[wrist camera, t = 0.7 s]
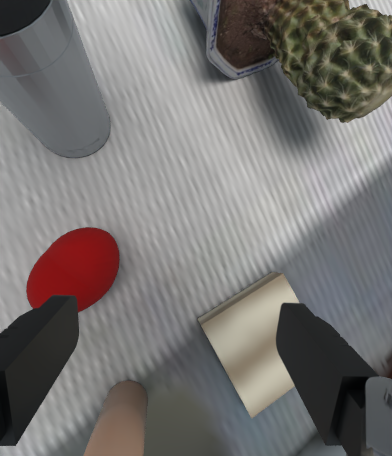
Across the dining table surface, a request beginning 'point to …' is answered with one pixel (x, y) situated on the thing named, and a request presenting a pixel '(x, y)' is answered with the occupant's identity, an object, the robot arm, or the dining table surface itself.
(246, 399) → the base slab
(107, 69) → the dining table surface
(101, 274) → the red heart
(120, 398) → the tall pink cylinder
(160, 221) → the dining table surface
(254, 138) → the dining table surface
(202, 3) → the potted plant
